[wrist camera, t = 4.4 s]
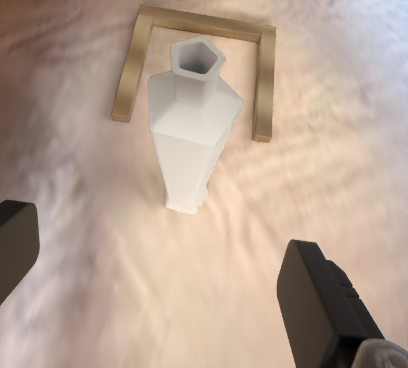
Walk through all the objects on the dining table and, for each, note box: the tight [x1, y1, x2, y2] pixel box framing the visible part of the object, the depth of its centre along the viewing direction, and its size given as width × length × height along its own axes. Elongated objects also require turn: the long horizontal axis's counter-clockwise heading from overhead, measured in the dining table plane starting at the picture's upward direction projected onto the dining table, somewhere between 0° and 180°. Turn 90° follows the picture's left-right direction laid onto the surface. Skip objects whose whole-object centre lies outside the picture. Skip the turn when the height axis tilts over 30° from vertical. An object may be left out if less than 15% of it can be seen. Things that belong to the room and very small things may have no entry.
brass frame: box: [111, 5, 276, 143], centre depth 30 cm, size 13×14×1 cm
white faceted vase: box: [148, 37, 244, 215], centre depth 19 cm, size 5×4×15 cm
